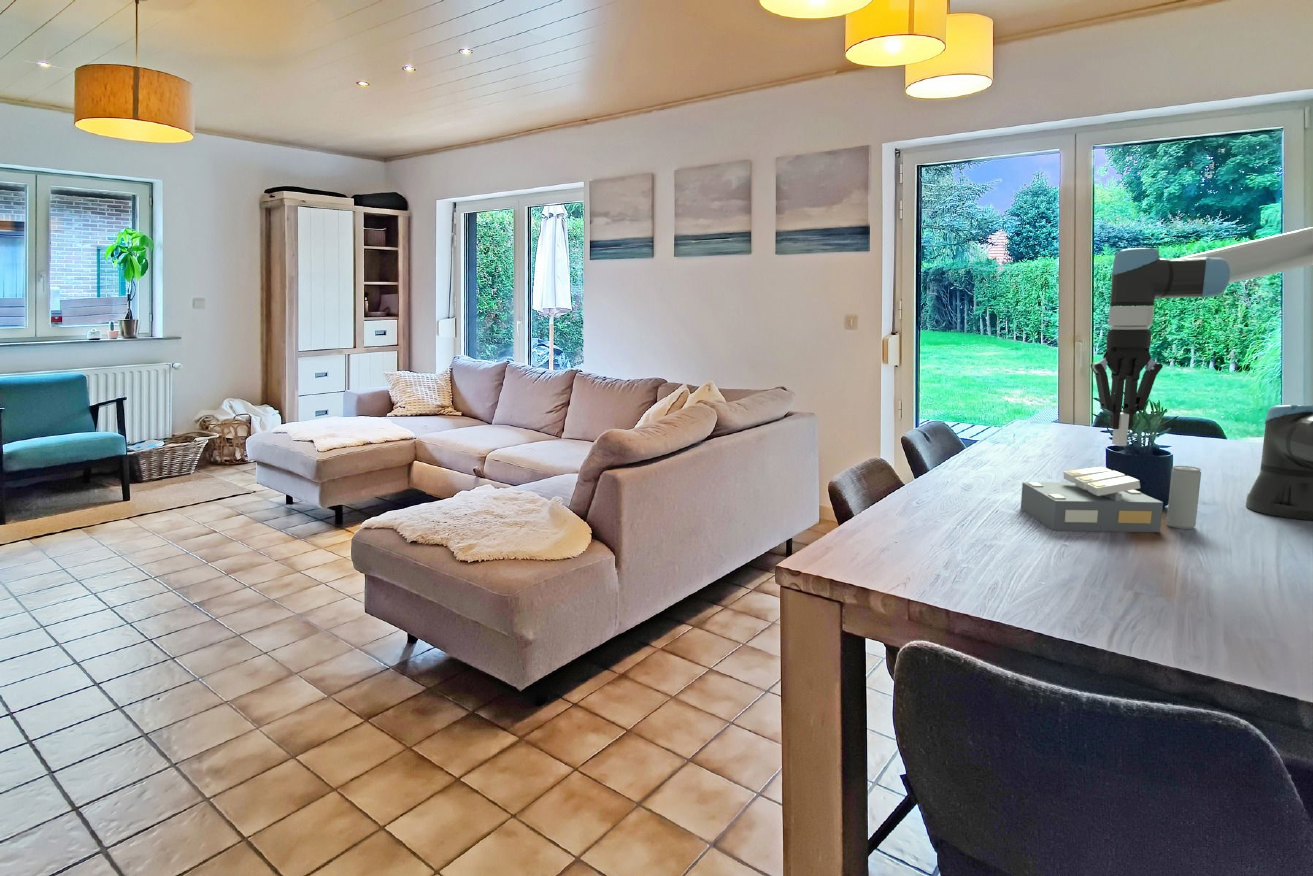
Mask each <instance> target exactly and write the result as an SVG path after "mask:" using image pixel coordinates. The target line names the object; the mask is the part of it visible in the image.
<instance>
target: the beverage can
mask: <svg viewBox="0 0 1313 876" xmlns="http://www.w3.org/2000/svg"><path fill="white" fill-rule="evenodd" d="M1201 469H1202V468H1199V467H1195V466H1189V465H1173V466H1172V469H1171V474H1170V475H1171V476H1170V484H1169V485H1170V486H1169V494H1168V505H1167V513H1166V524H1167V526H1169V527H1170V528H1174V529H1178V530H1179V529H1180V530H1192V529H1194V528H1195V527H1196V524H1197V514H1198V505H1199V497H1200V489H1201V487H1200V486H1201V479H1202V478H1201V477H1202V470H1201Z"/></svg>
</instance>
